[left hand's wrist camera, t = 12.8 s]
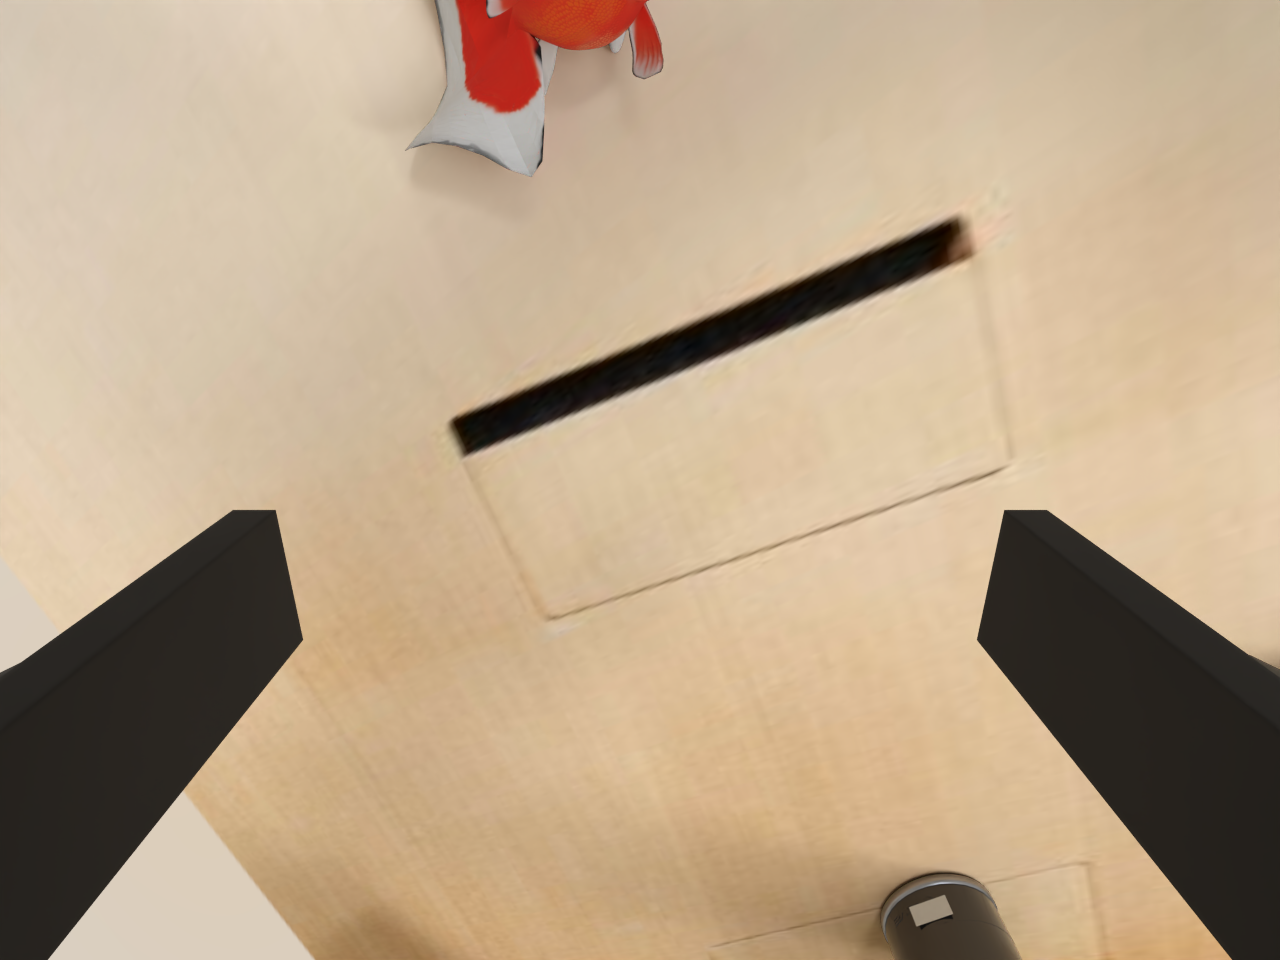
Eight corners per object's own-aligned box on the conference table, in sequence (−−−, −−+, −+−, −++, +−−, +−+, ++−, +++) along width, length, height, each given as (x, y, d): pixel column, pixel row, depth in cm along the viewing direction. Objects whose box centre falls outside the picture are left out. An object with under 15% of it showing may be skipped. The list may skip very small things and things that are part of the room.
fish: (743, 143, 32) (639, 48, 23) (492, 236, 40) (343, 190, 31) (712, -91, 31) (595, -278, 23) (464, 48, 39) (306, -51, 30)
